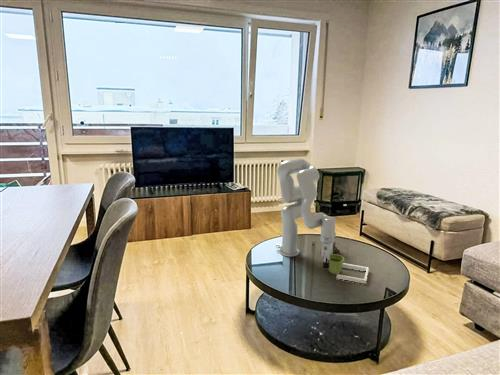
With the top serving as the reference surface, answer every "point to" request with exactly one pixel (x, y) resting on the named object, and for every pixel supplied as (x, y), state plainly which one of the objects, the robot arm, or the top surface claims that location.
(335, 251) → the seated figurine
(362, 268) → the white u-shaped block
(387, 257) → the top surface
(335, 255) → the plant pot
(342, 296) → the top surface
